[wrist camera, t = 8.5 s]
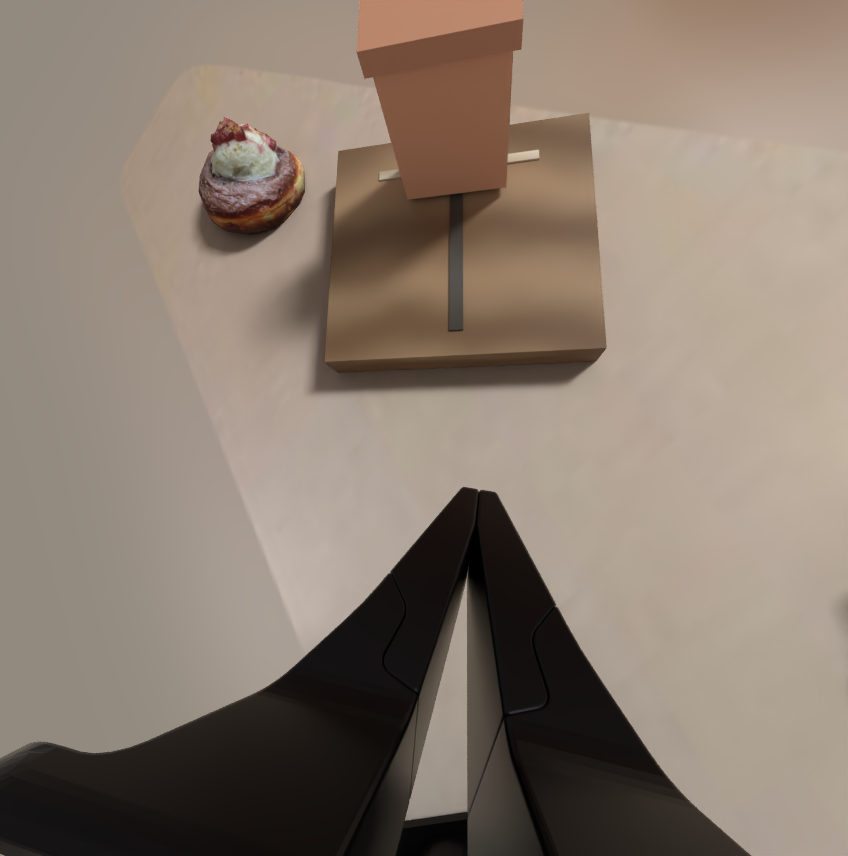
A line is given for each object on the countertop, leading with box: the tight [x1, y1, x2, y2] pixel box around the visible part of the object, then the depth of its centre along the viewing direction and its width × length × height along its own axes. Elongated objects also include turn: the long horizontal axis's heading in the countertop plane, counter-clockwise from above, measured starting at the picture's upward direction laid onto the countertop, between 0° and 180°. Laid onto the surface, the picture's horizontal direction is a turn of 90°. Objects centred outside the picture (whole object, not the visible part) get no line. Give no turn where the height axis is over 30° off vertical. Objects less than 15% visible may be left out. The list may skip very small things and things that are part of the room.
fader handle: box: [357, 0, 523, 200], centre depth 19 cm, size 4×7×8 cm, turn 89°
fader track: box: [324, 113, 606, 372], centre depth 23 cm, size 15×16×2 cm
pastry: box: [199, 117, 305, 234], centre depth 26 cm, size 8×8×5 cm
